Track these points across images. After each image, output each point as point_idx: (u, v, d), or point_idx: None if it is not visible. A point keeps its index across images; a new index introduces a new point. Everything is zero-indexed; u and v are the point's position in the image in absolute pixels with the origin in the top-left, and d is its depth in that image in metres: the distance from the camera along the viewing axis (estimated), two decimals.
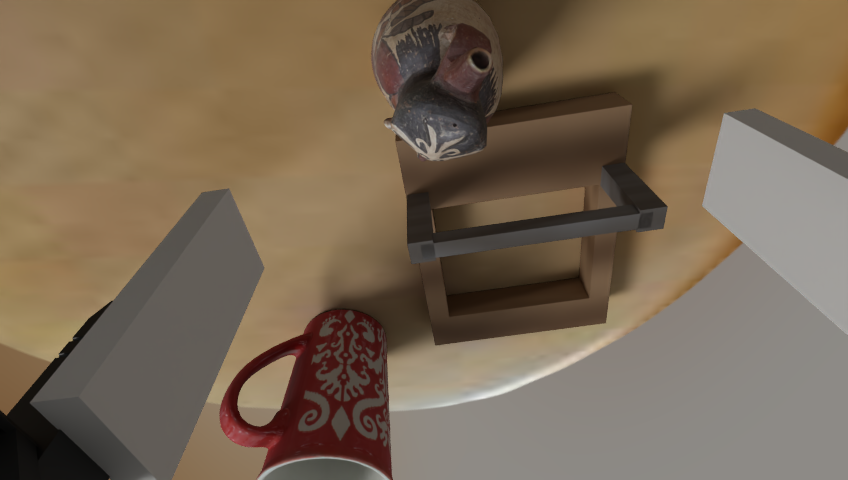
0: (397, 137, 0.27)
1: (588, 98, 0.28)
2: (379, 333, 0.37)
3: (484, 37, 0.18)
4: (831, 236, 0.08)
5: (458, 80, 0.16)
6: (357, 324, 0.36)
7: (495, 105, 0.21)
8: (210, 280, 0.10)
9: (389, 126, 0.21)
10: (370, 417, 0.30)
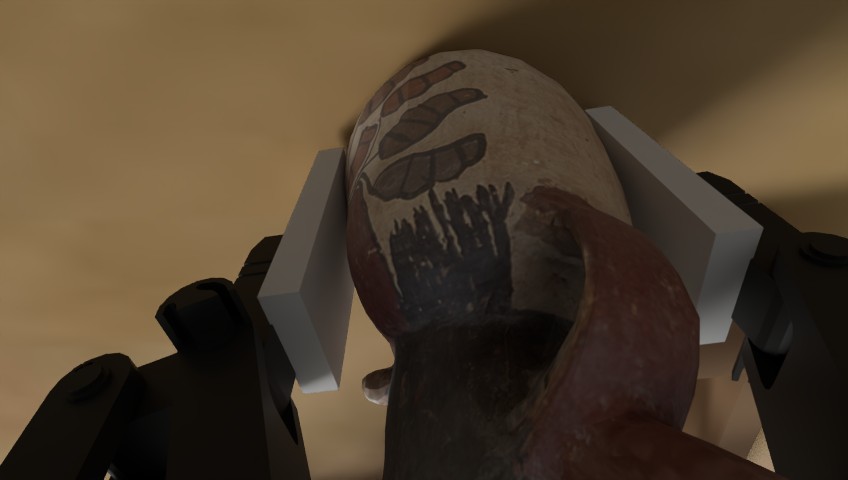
0: None
1: None
2: None
3: (672, 276, 0.05)
4: (638, 212, 0.10)
5: None
6: None
7: None
8: (342, 223, 0.11)
9: (375, 401, 0.09)
10: None
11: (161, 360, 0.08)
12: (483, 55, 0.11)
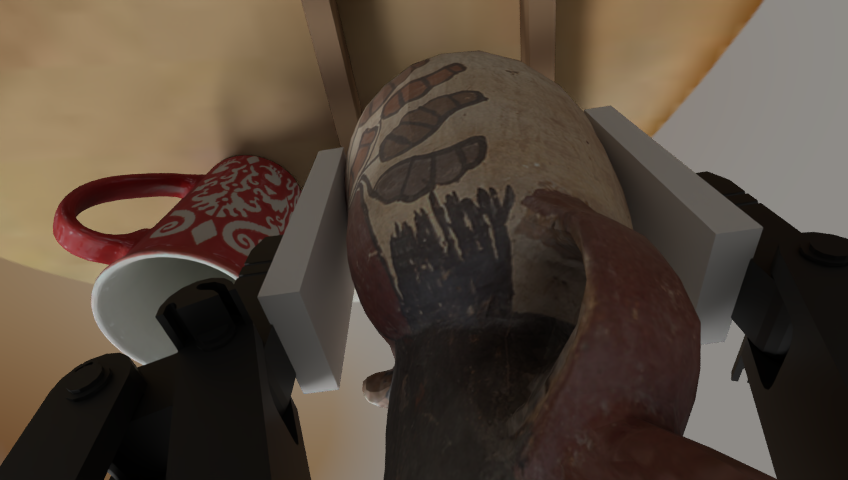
0: None
1: None
2: (290, 183, 0.32)
3: (672, 280, 0.05)
4: (638, 212, 0.10)
5: None
6: (260, 166, 0.30)
7: None
8: (342, 223, 0.11)
9: (375, 404, 0.09)
10: (249, 237, 0.24)
11: (161, 360, 0.08)
12: (483, 57, 0.11)
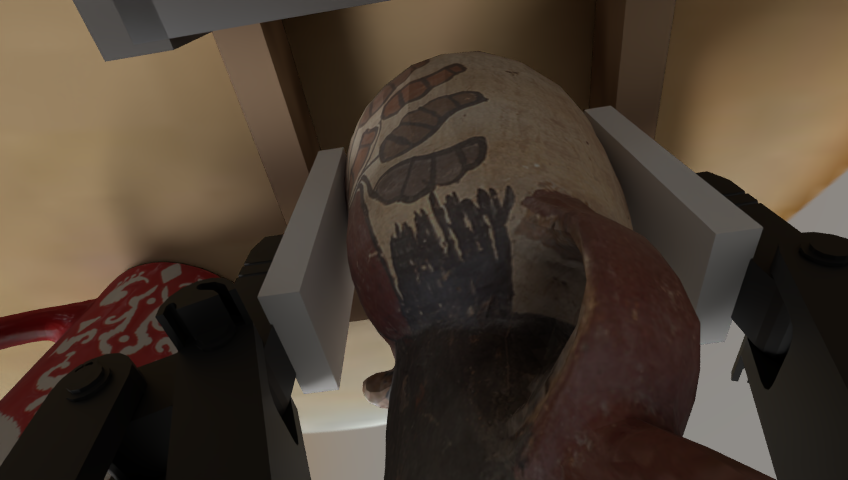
0: None
1: None
2: None
3: (672, 281, 0.05)
4: (638, 212, 0.10)
5: None
6: (180, 286, 0.20)
7: None
8: (342, 223, 0.11)
9: (376, 404, 0.09)
10: None
11: (161, 360, 0.08)
12: (484, 58, 0.11)
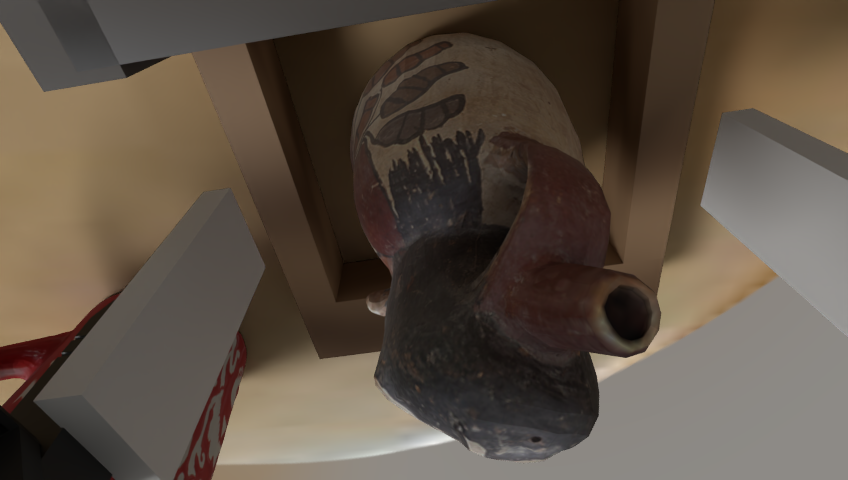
0: None
1: None
2: None
3: (592, 185, 0.08)
4: (828, 236, 0.08)
5: (549, 335, 0.06)
6: None
7: None
8: (212, 279, 0.10)
9: (377, 312, 0.11)
10: None
11: None
12: (468, 36, 0.13)
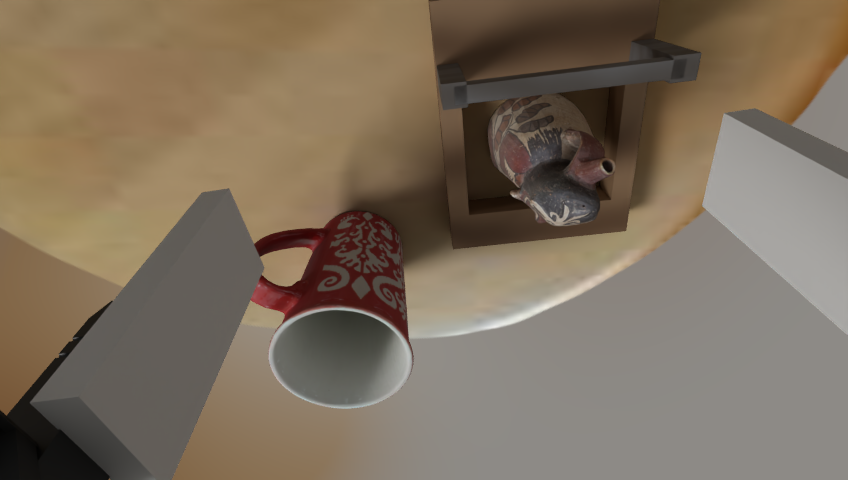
0: (431, 0, 0.27)
1: None
2: (396, 236, 0.37)
3: (599, 143, 0.25)
4: (831, 236, 0.08)
5: (588, 176, 0.23)
6: (375, 222, 0.36)
7: None
8: (210, 280, 0.10)
9: (515, 196, 0.28)
10: (389, 291, 0.29)
11: None
12: None
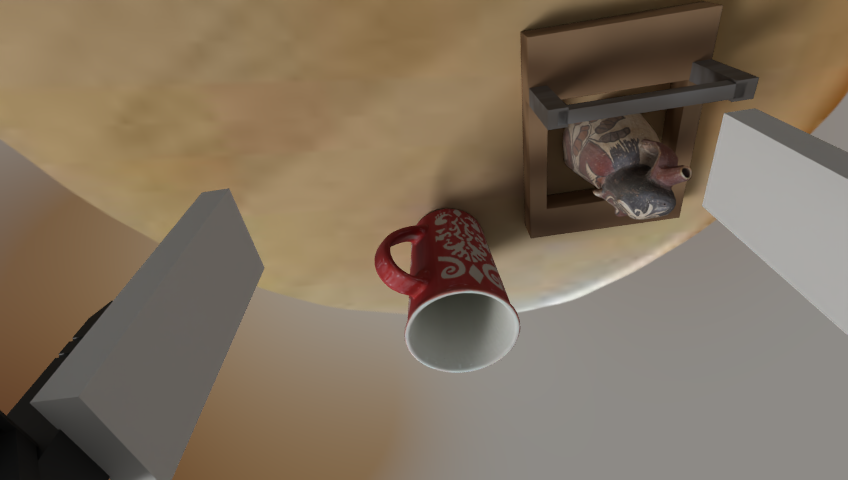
0: (527, 35, 0.33)
1: (682, 5, 0.33)
2: (481, 229, 0.43)
3: (673, 151, 0.31)
4: (831, 236, 0.08)
5: (668, 180, 0.30)
6: (465, 218, 0.42)
7: None
8: (210, 280, 0.10)
9: (598, 195, 0.34)
10: (495, 276, 0.35)
11: None
12: None
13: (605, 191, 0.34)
